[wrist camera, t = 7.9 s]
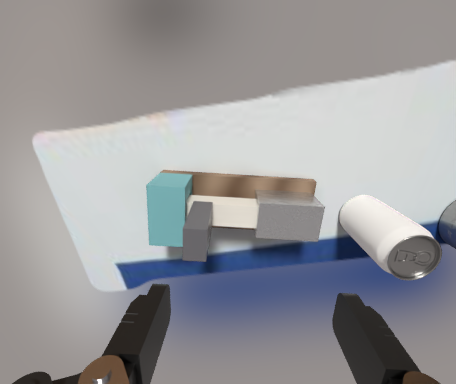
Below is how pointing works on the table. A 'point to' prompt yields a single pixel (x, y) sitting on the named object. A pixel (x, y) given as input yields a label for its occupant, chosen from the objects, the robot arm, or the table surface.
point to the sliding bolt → (213, 221)
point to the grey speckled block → (288, 215)
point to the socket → (167, 208)
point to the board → (243, 185)
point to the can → (390, 238)
